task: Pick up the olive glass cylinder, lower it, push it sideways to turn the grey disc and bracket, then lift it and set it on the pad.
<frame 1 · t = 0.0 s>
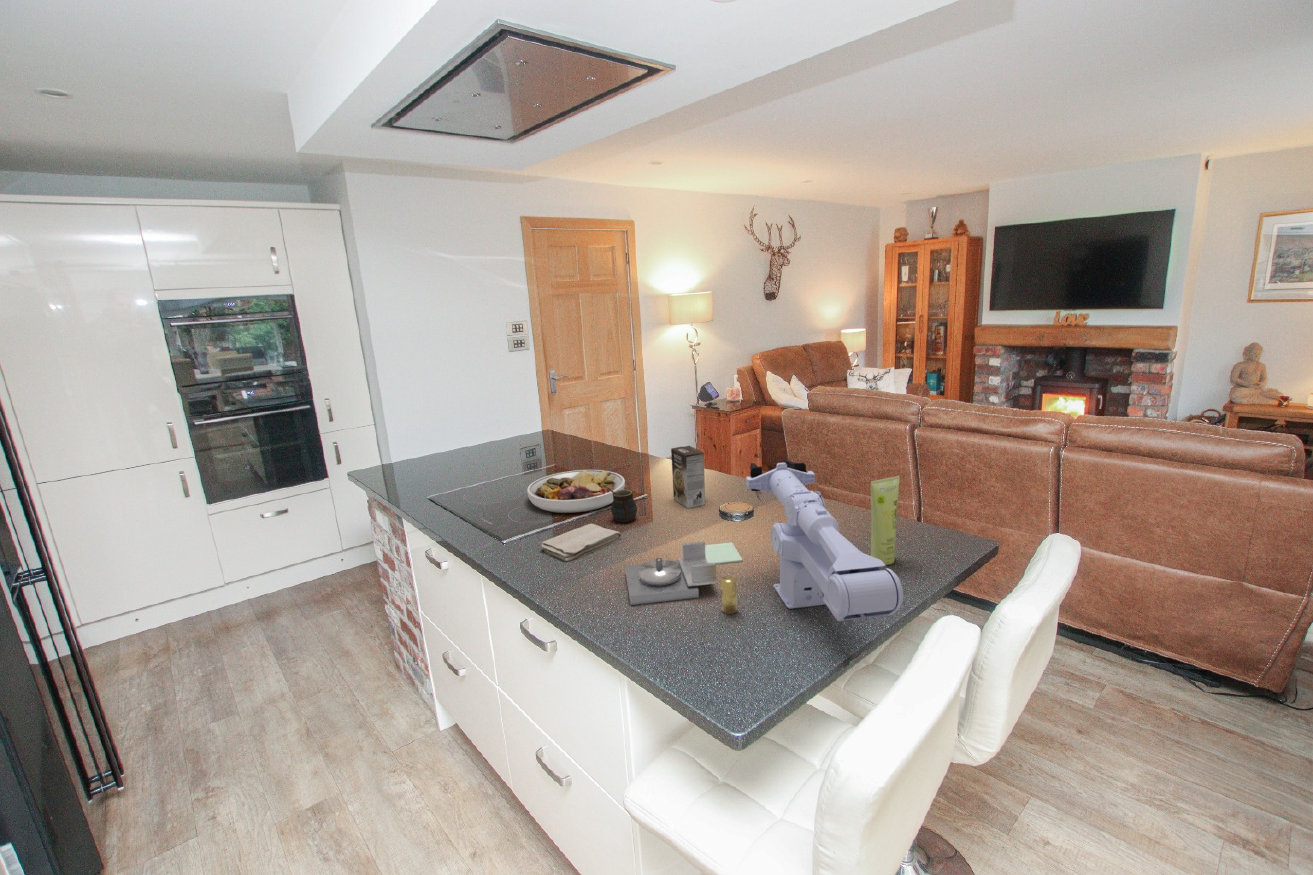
hand: (768, 465, 135), 22 cm above the kitchen island, tool horizontal, fingers open, 7 cm apart
grey disc and bracket: (674, 564, 128), point 4 cm above the kitchen island, hinge at 0.0°
mate gourd: (624, 520, 167), on the kitchen island
washcloth: (581, 547, 152), on the kitchen island
olive glass cylinder: (729, 609, 117), on the kitchen island
coffee box: (689, 502, 177), on the kitchen island
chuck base: (660, 585, 128), on the kitchen island
tube: (881, 561, 134), on the kitchen island
pad: (716, 554, 142), on the kitchen island
bowl: (577, 499, 186), on the kitchen island
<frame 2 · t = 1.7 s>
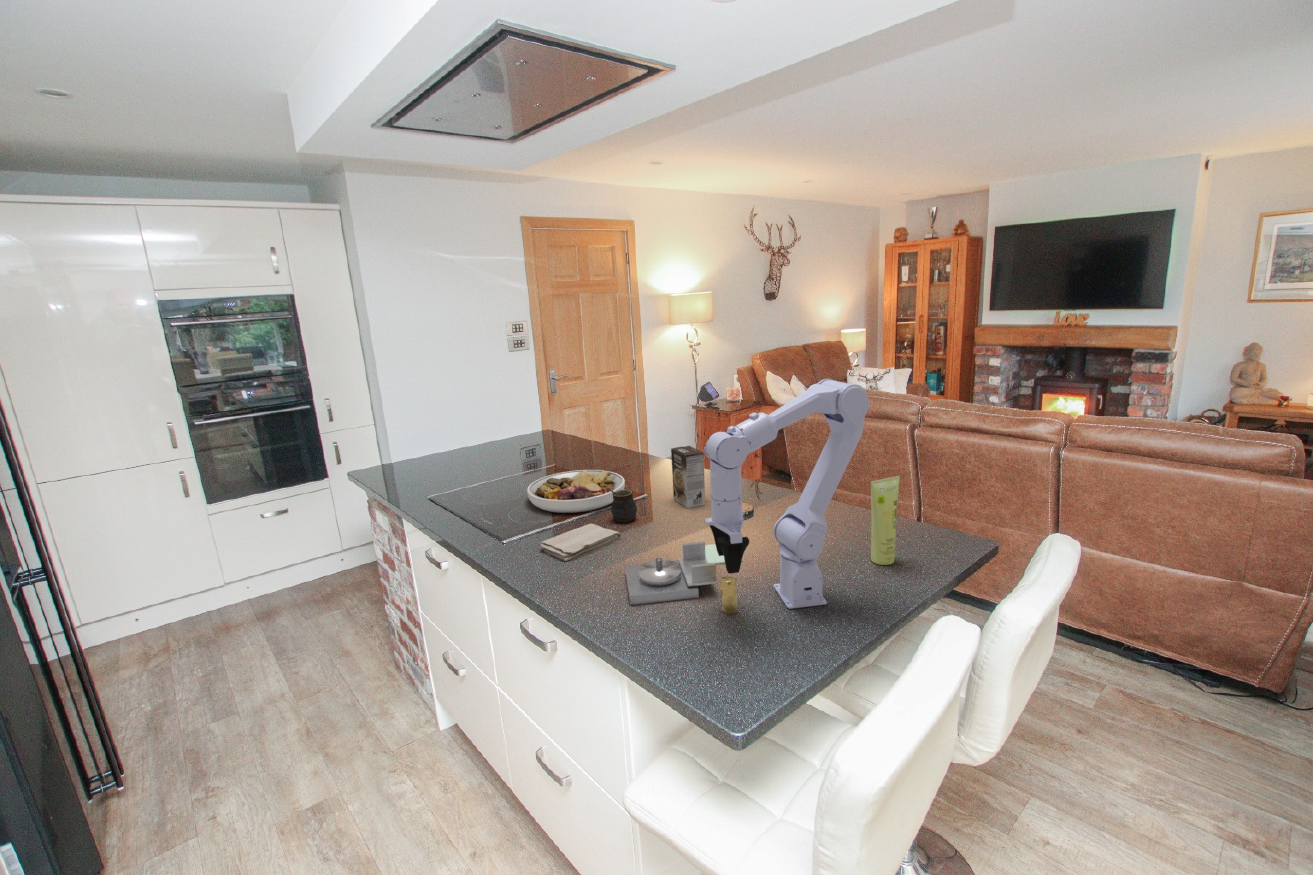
hand: (728, 563, 115), 10 cm above the kitchen island, tool pointing down, fingers open, 7 cm apart
nothing on the kitchen island moved.
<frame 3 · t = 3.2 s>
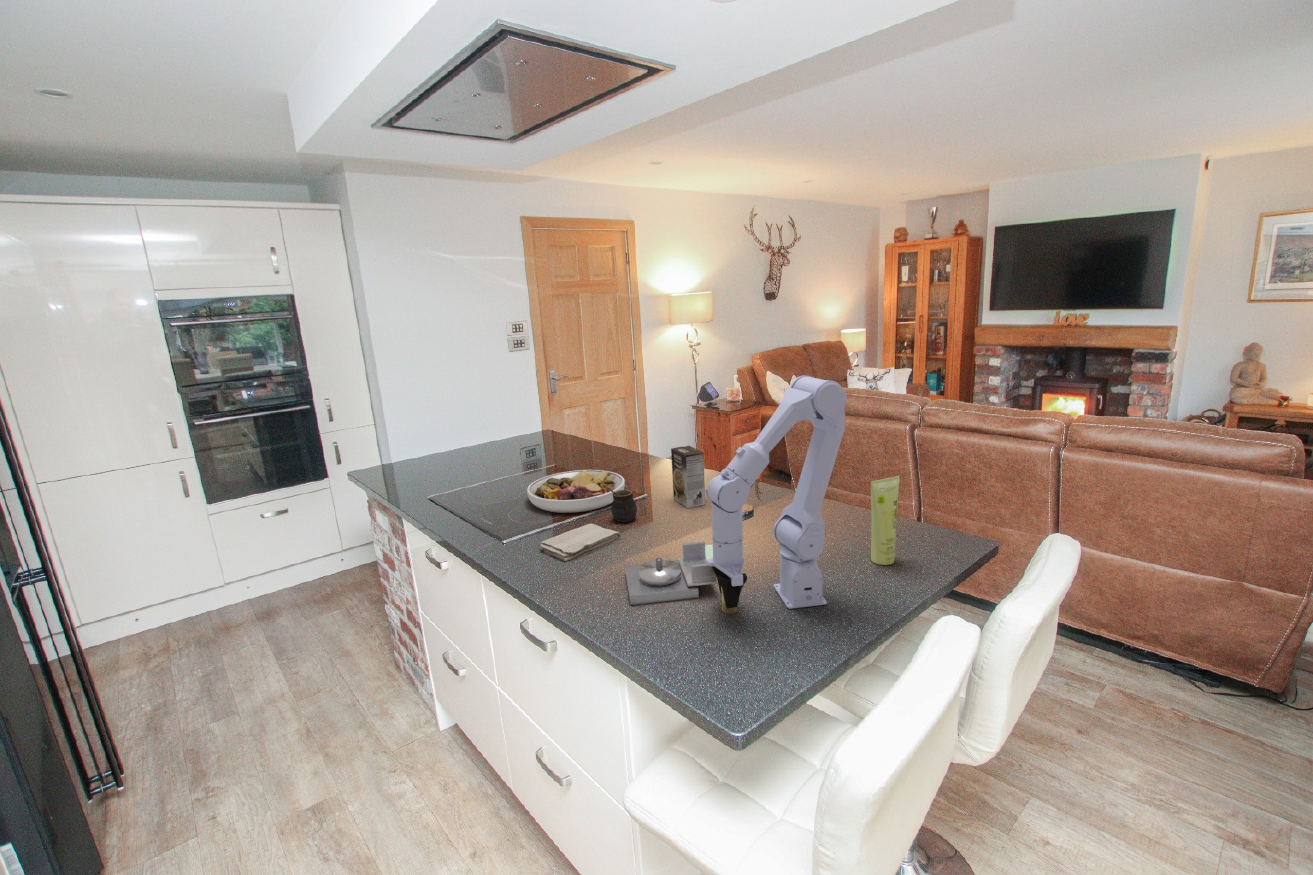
hand: (729, 602, 117), 2 cm above the kitchen island, tool pointing down, fingers closed on olive glass cylinder, 3 cm apart
olive glass cylinder: (729, 609, 117), on the kitchen island, touching gripper
everything else where it was.
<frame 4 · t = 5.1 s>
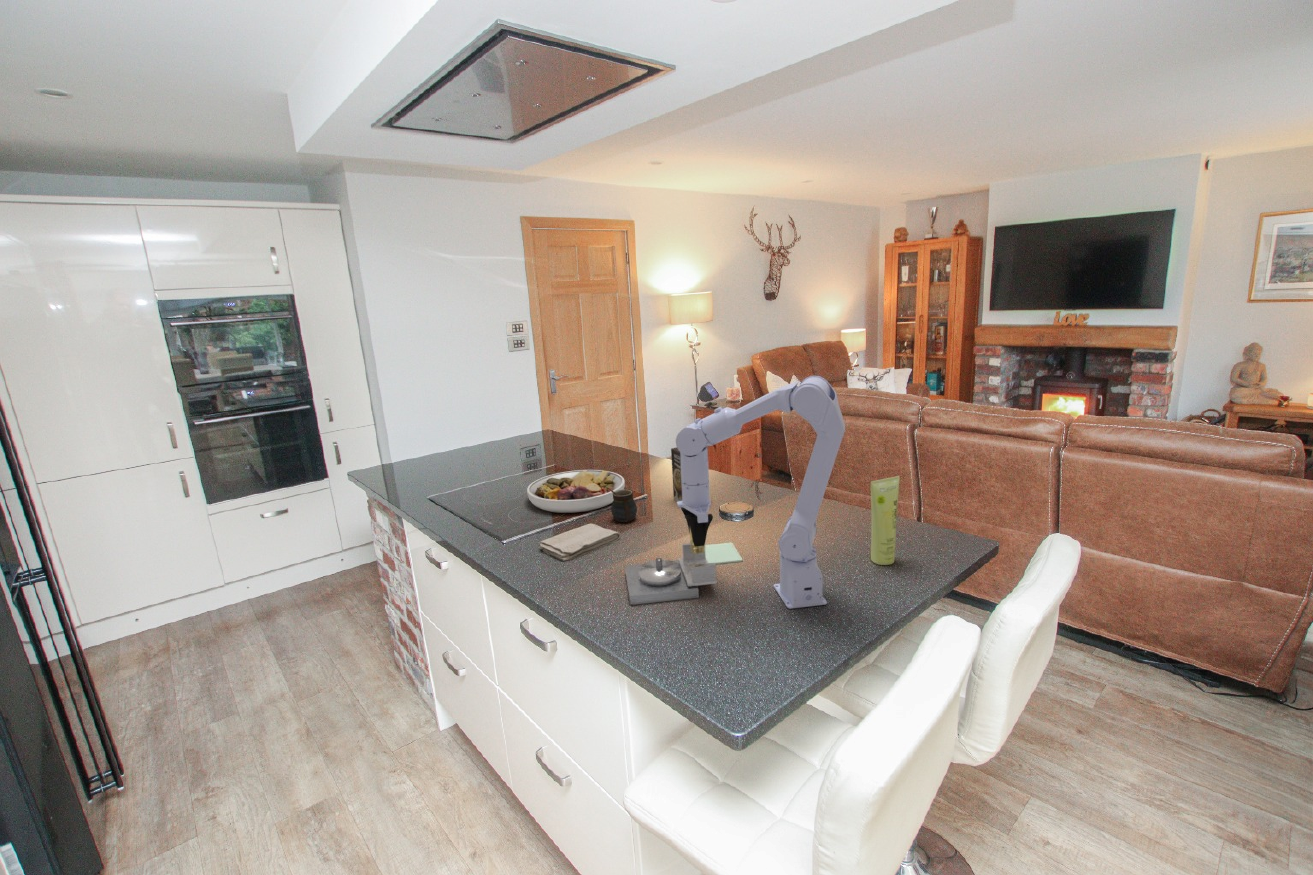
hand: (697, 542, 127), 9 cm above the kitchen island, tool pointing down, fingers closed on olive glass cylinder, 3 cm apart
olive glass cylinder: (697, 550, 128), point 7 cm above the kitchen island, touching gripper
everything else where it was.
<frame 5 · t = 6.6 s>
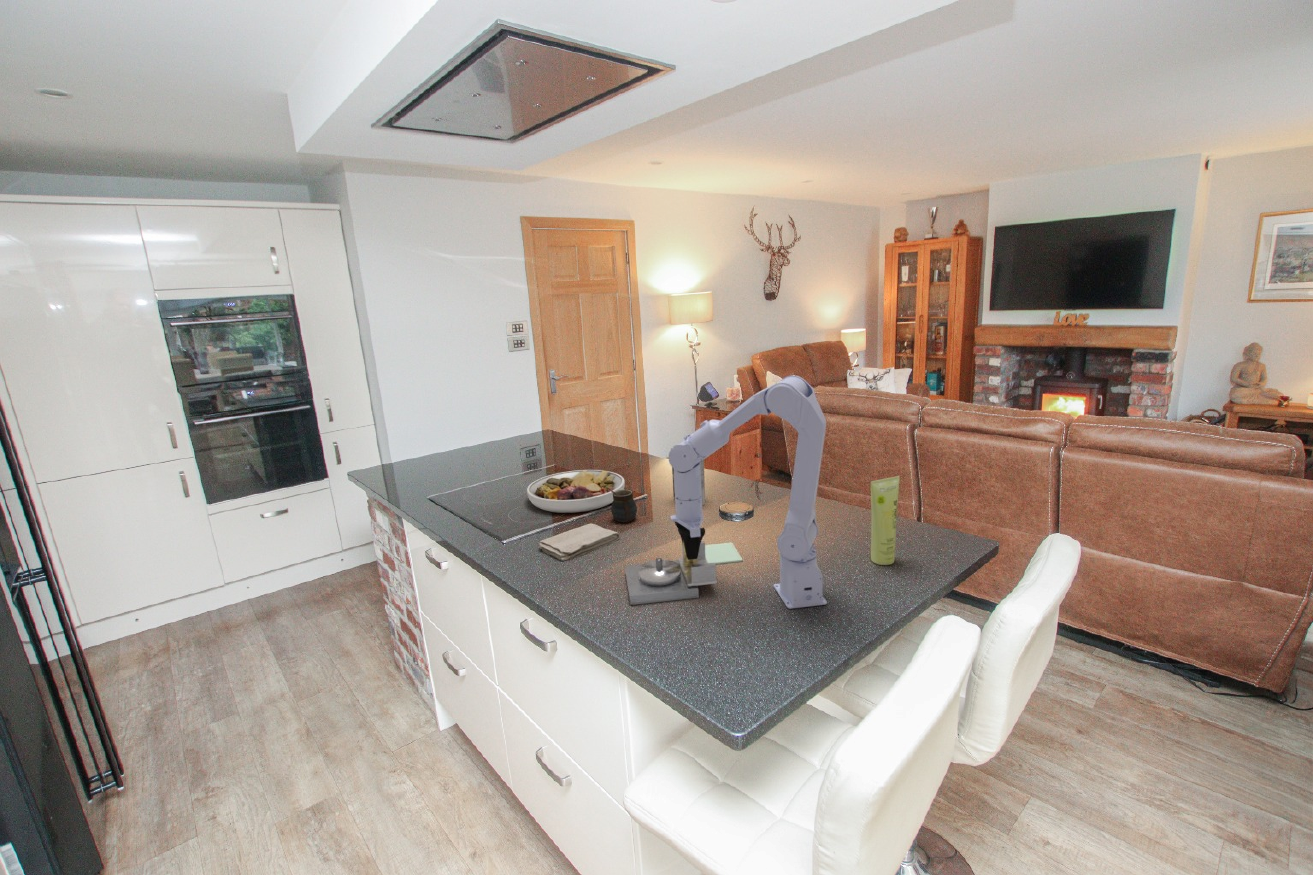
hand: (690, 555, 130), 5 cm above the kitchen island, tool pointing down, fingers closed on olive glass cylinder, 3 cm apart
grey disc and bracket: (674, 564, 128), point 4 cm above the kitchen island, hinge at 0.2°, touching gripper
olive glass cylinder: (690, 563, 131), point 3 cm above the kitchen island, touching gripper
everything else where it was.
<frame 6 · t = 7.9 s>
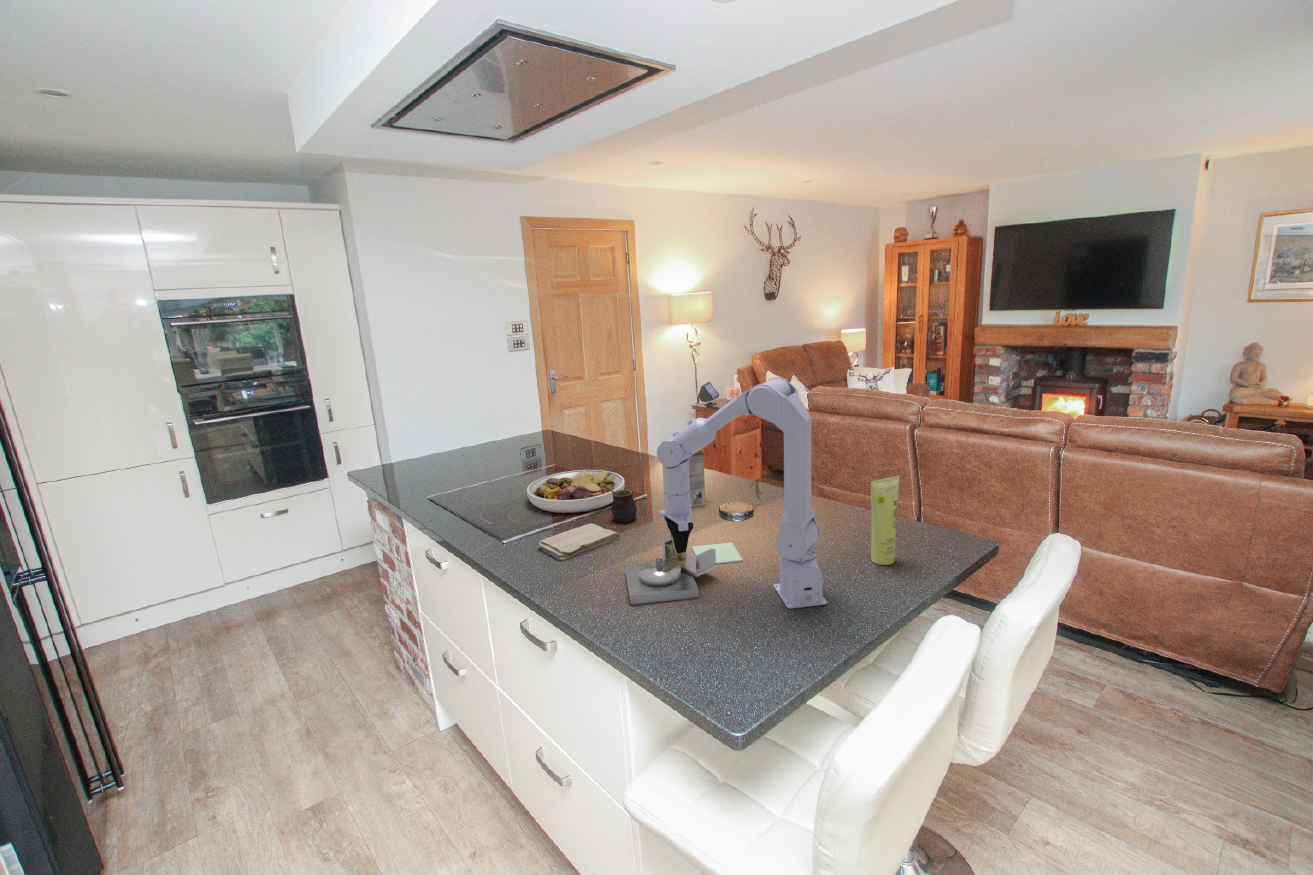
hand: (679, 548, 134), 5 cm above the kitchen island, tool pointing down, fingers closed on olive glass cylinder, 3 cm apart
grey disc and bracket: (670, 561, 129), point 4 cm above the kitchen island, hinge at 33.4°, touching gripper
olive glass cylinder: (679, 557, 134), point 3 cm above the kitchen island, touching gripper
everything else where it was.
when the fingers open (3 cm above the kitchen island, at t = 10.5 s): olive glass cylinder stays where it is, resting on pad.
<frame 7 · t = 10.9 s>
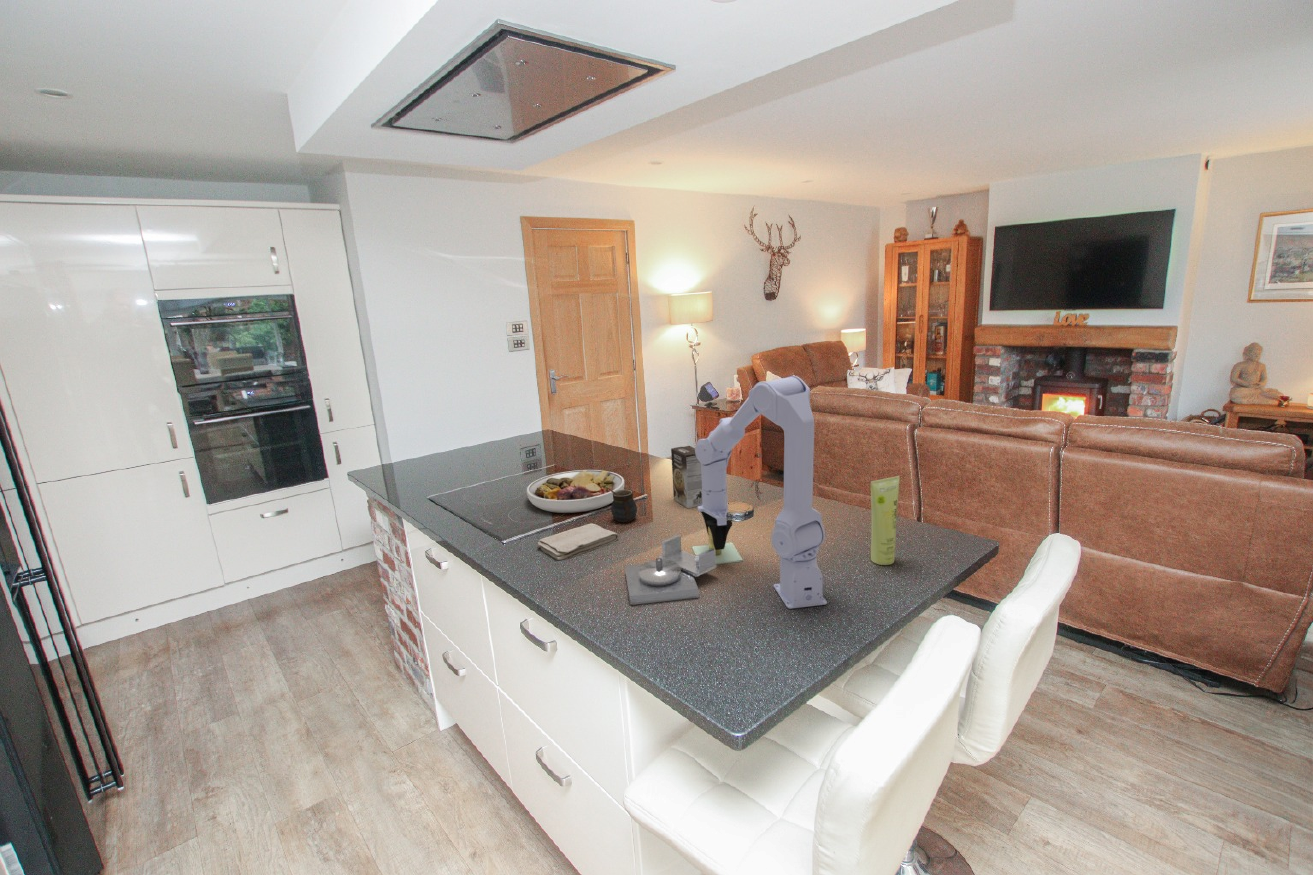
hand: (716, 542, 141), 3 cm above the kitchen island, tool pointing down, fingers open, 6 cm apart
grey disc and bracket: (670, 561, 129), point 4 cm above the kitchen island, hinge at 33.7°
olive glass cylinder: (715, 553, 141), resting on pad
everything else where it was.
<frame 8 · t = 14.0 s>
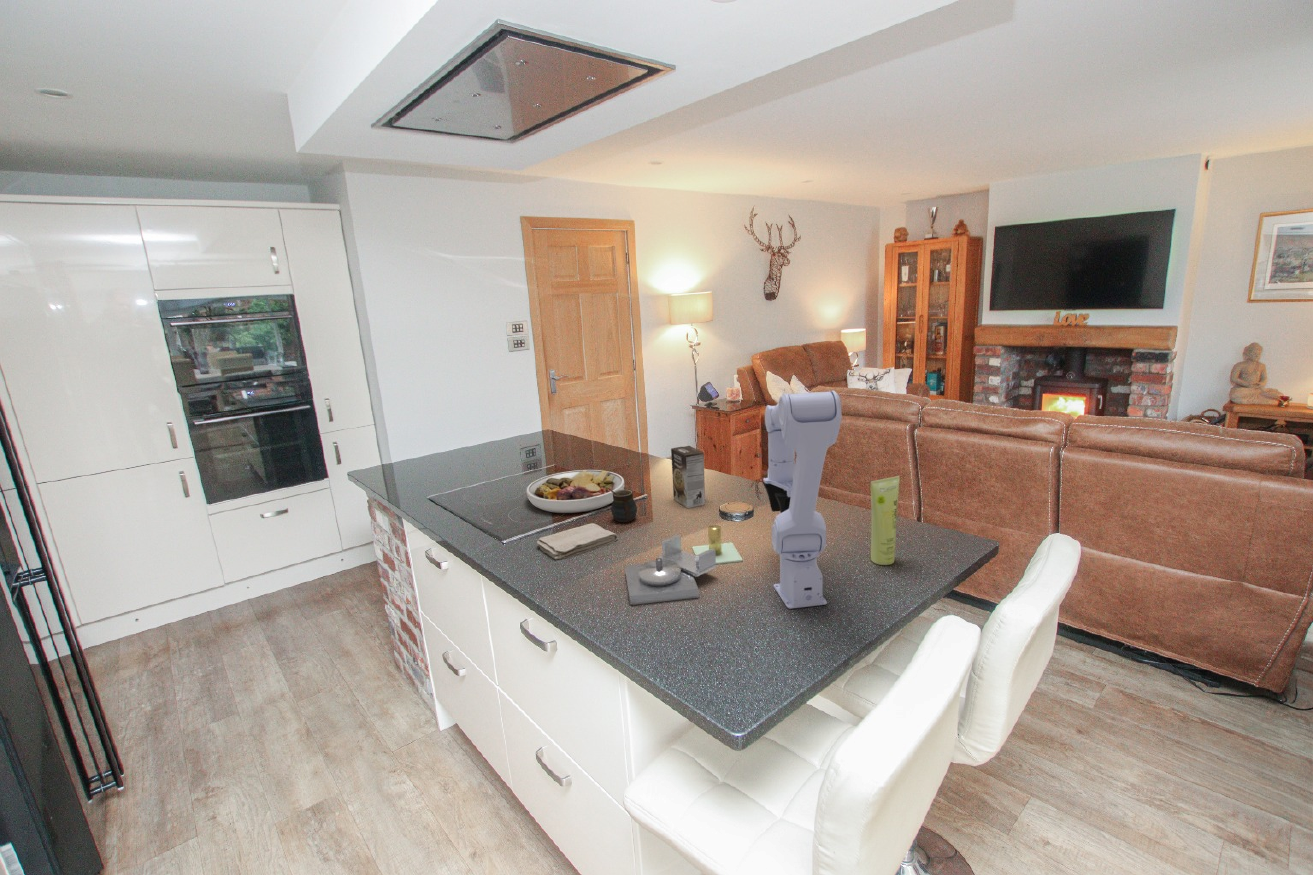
hand: (781, 516, 135), 10 cm above the kitchen island, tool pointing down, fingers open, 7 cm apart
at the end: grey disc and bracket at +34° (first picture: +0°); olive glass cylinder inside the target area on the pad (0.3 cm from its centre), point 0.4 cm above the pad's base; olive glass cylinder tilted 0° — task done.
